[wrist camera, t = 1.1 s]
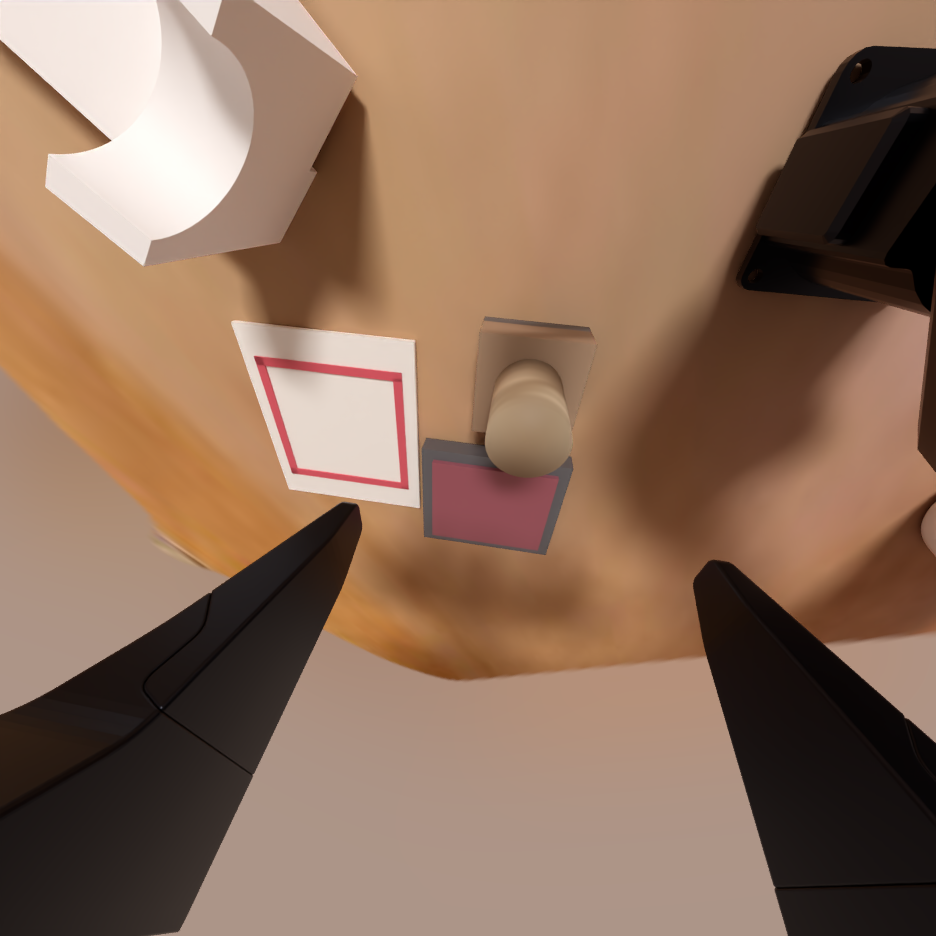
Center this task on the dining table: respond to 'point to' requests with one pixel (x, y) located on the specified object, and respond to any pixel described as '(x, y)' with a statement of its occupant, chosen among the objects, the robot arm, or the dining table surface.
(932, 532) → the fruit juice
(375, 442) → the paper card
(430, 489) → the ink pad
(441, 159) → the dining table surface
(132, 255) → the bracket
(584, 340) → the stamp
